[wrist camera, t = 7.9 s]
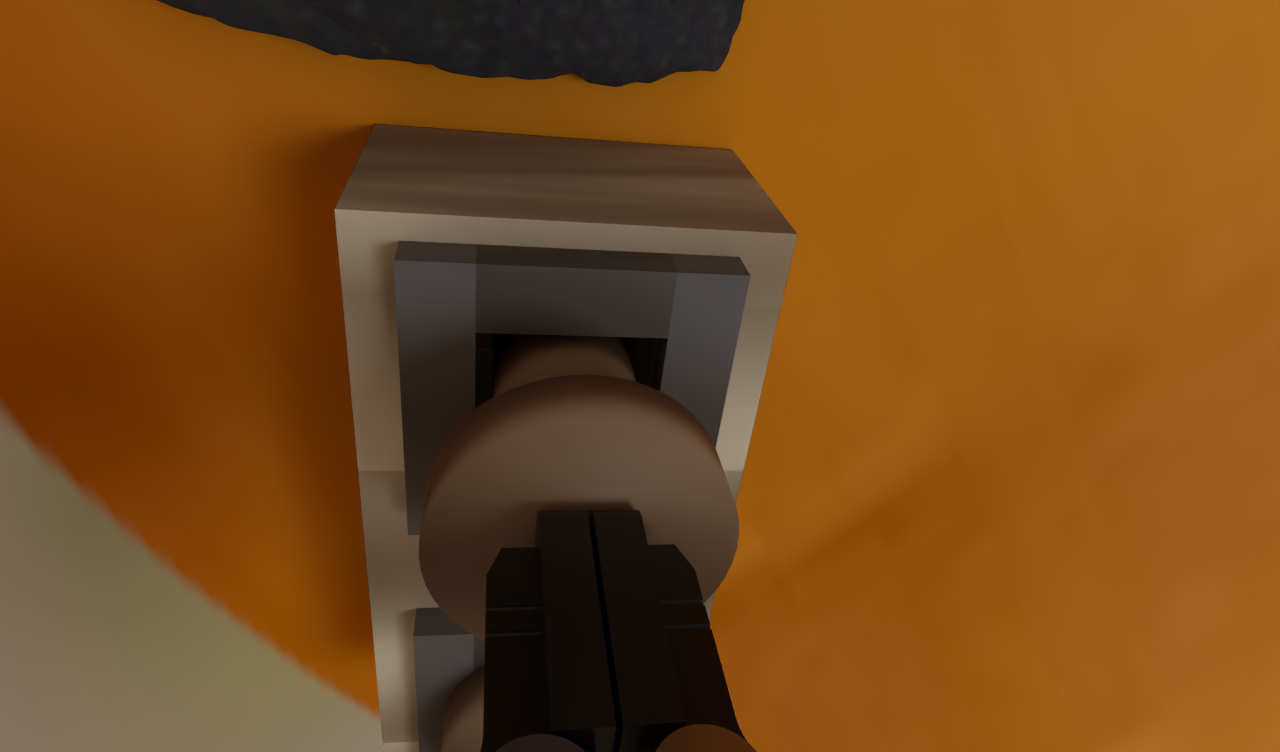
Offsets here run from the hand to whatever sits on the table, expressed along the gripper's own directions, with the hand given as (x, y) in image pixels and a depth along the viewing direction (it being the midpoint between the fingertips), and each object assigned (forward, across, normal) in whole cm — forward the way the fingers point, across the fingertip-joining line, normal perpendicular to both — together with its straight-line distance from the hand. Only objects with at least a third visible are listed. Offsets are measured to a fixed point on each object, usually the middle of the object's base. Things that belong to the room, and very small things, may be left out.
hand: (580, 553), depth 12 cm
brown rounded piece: (+7, 0, 0) cm, 7 cm away
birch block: (+9, 0, +4) cm, 10 cm away
